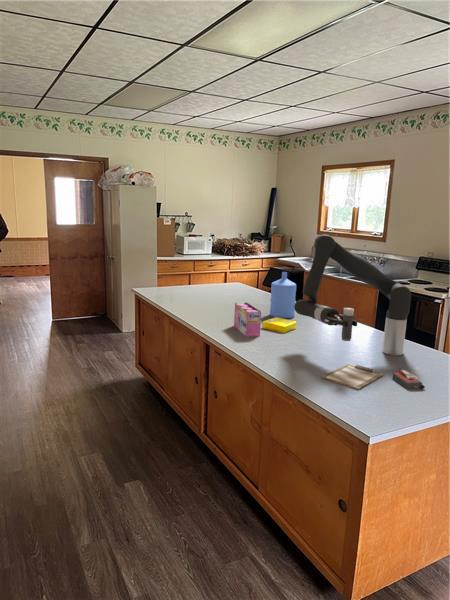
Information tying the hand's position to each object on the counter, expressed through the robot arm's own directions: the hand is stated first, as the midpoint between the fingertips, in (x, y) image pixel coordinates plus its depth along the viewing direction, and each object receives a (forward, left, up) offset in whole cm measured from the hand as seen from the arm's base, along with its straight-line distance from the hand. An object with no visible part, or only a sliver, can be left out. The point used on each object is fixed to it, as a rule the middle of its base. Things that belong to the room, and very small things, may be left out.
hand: (352, 324), depth 181 cm
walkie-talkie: (-7, +22, -21) cm, 31 cm away
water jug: (-58, -77, -20) cm, 98 cm away
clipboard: (+6, +5, -20) cm, 22 cm away
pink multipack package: (-13, -68, -20) cm, 72 cm away
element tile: (-32, -60, -21) cm, 71 cm away
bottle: (-1, -3, -8) cm, 8 cm away
